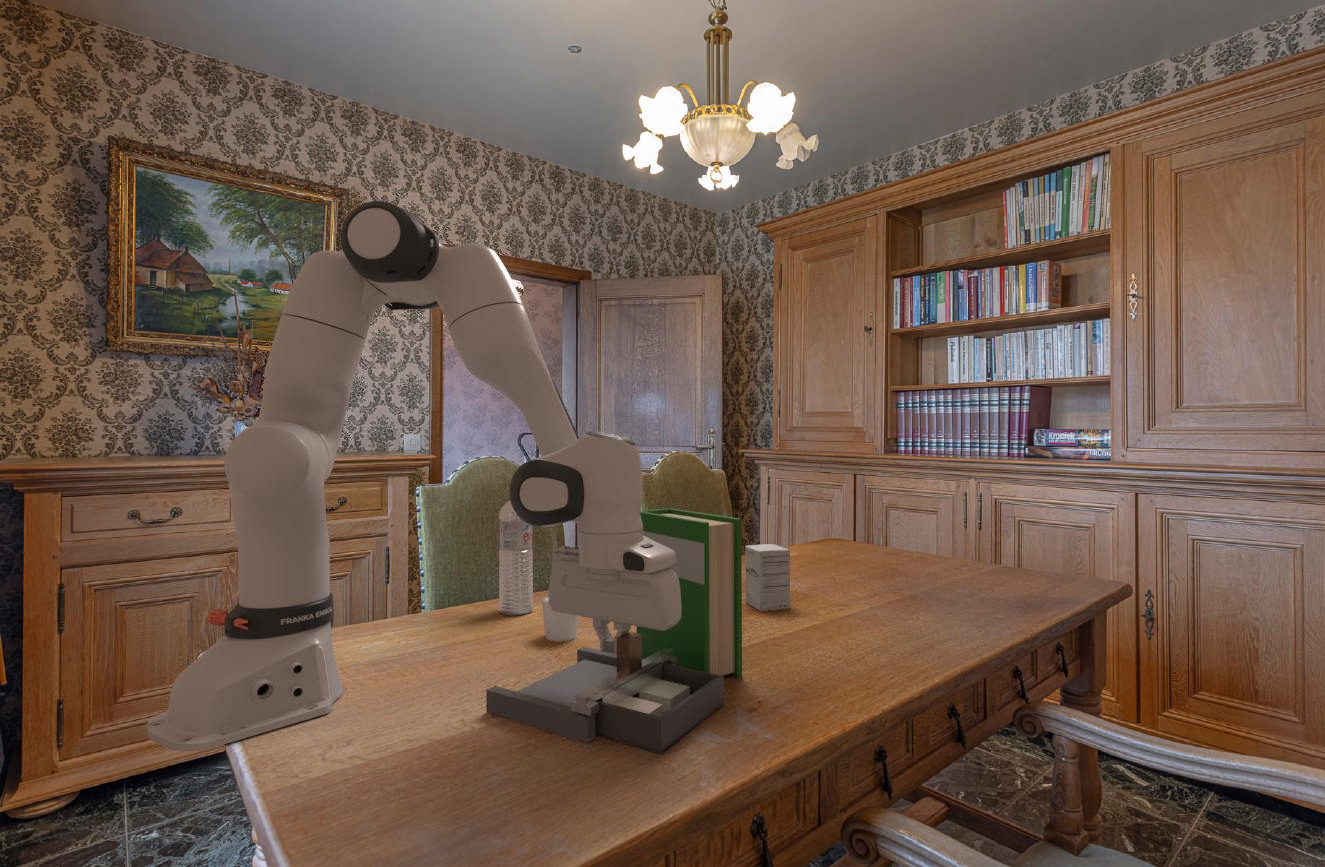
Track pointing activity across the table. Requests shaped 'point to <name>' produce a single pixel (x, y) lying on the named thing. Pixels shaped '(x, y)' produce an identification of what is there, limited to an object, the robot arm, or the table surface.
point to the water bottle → (515, 563)
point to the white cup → (558, 624)
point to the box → (670, 725)
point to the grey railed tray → (556, 697)
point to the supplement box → (767, 577)
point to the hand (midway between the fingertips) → (612, 652)
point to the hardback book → (701, 590)
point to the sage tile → (665, 693)
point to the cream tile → (642, 706)
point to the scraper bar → (625, 675)
